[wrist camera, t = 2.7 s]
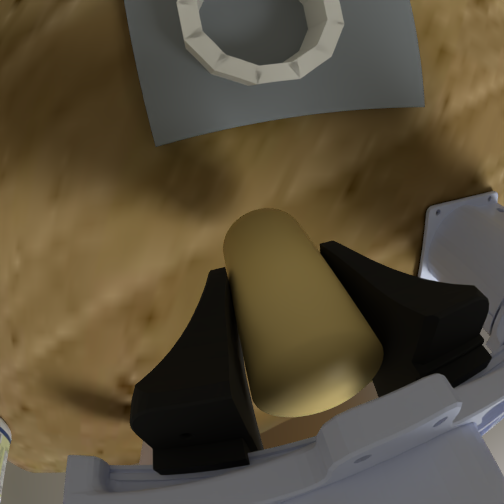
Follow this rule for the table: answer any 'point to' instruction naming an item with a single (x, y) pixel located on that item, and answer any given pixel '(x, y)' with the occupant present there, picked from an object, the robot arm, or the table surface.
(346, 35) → the holder
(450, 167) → the table surface
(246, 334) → the peg
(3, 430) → the supplement tub
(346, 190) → the table surface
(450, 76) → the table surface
